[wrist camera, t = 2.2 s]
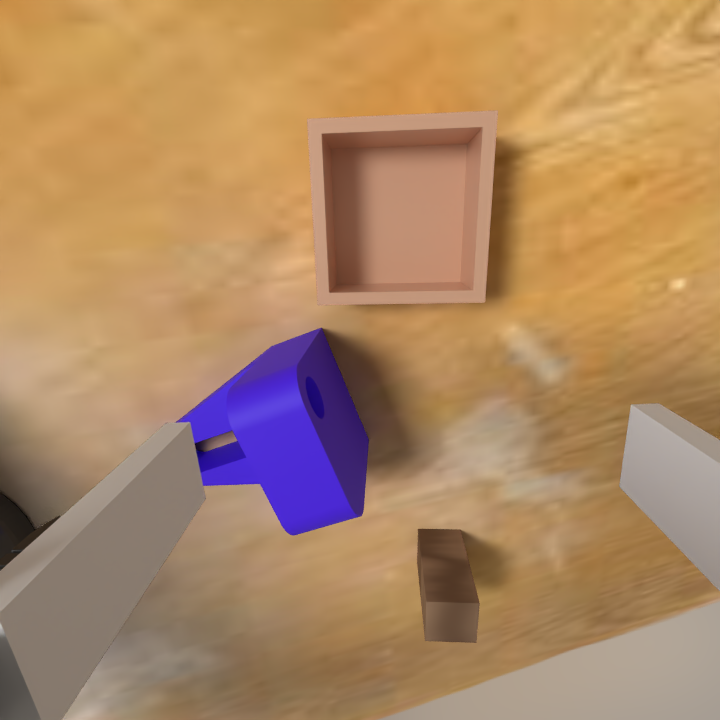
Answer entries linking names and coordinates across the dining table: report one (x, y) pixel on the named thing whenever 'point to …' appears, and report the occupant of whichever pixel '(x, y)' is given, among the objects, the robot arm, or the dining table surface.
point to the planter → (402, 207)
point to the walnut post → (446, 587)
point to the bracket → (288, 435)
